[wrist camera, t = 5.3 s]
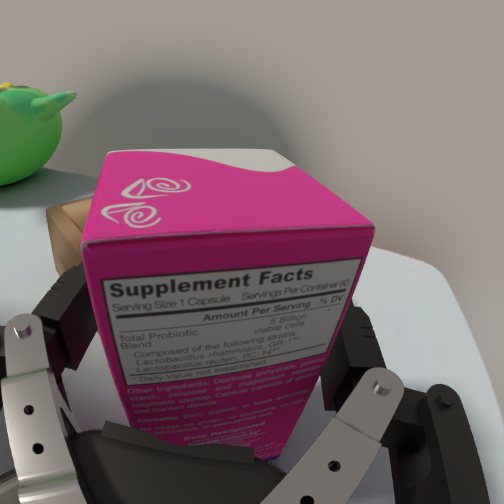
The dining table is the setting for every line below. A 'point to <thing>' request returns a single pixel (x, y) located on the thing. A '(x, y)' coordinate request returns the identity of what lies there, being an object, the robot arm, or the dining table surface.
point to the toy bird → (28, 129)
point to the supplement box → (218, 289)
